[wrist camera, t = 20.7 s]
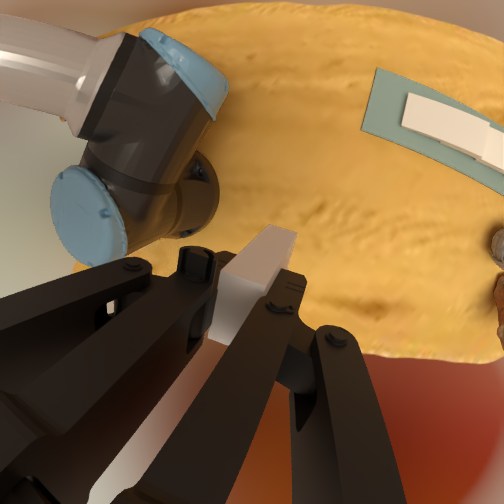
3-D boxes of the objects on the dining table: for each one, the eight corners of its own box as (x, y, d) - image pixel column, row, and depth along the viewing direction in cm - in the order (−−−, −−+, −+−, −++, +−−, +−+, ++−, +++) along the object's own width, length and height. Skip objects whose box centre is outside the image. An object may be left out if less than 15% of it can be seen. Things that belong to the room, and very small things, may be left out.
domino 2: (440, 141, 33) (514, 175, 27) (447, 108, 31) (521, 142, 26) (439, 143, 34) (511, 176, 29) (447, 111, 32) (518, 144, 27)
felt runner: (360, 130, 38) (361, 130, 37) (377, 68, 34) (377, 67, 34) (530, 213, 32) (532, 213, 31) (545, 157, 28) (546, 158, 28)
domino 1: (401, 125, 34) (482, 157, 28) (408, 92, 32) (489, 122, 27) (402, 127, 35) (480, 158, 30) (409, 96, 34) (487, 125, 28)
